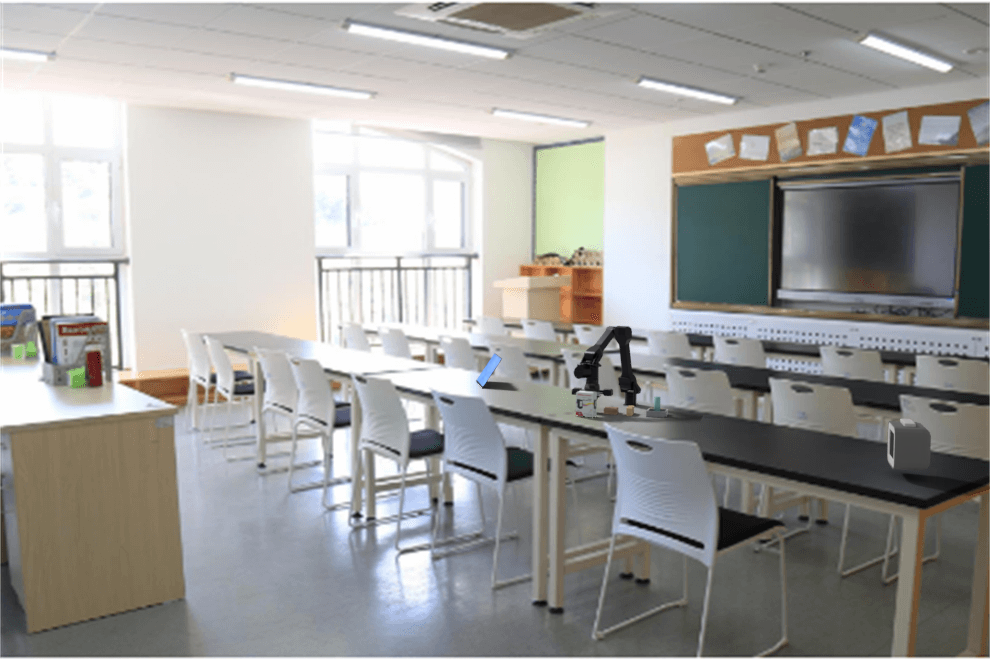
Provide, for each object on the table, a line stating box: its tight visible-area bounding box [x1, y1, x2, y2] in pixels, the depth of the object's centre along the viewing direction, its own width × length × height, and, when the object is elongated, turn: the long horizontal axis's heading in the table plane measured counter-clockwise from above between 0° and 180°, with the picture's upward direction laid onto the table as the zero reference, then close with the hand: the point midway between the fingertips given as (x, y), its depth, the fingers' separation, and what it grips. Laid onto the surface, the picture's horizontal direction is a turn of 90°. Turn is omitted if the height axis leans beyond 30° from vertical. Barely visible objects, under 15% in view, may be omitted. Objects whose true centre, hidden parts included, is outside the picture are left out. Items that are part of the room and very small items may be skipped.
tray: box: [645, 407, 669, 419], centre depth 399 cm, size 9×9×2 cm
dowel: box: [653, 396, 661, 411], centre depth 399 cm, size 3×3×8 cm
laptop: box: [475, 352, 503, 389], centre depth 493 cm, size 30×32×18 cm
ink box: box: [575, 391, 598, 418], centre depth 394 cm, size 9×5×12 cm, turn 62°
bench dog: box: [625, 406, 635, 417], centre depth 402 cm, size 8×2×4 cm, turn 164°
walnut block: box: [603, 406, 619, 416], centre depth 404 cm, size 6×6×3 cm
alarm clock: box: [886, 418, 932, 471], centre depth 294 cm, size 16×11×16 cm
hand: (592, 410), depth 407 cm, fingers closed
